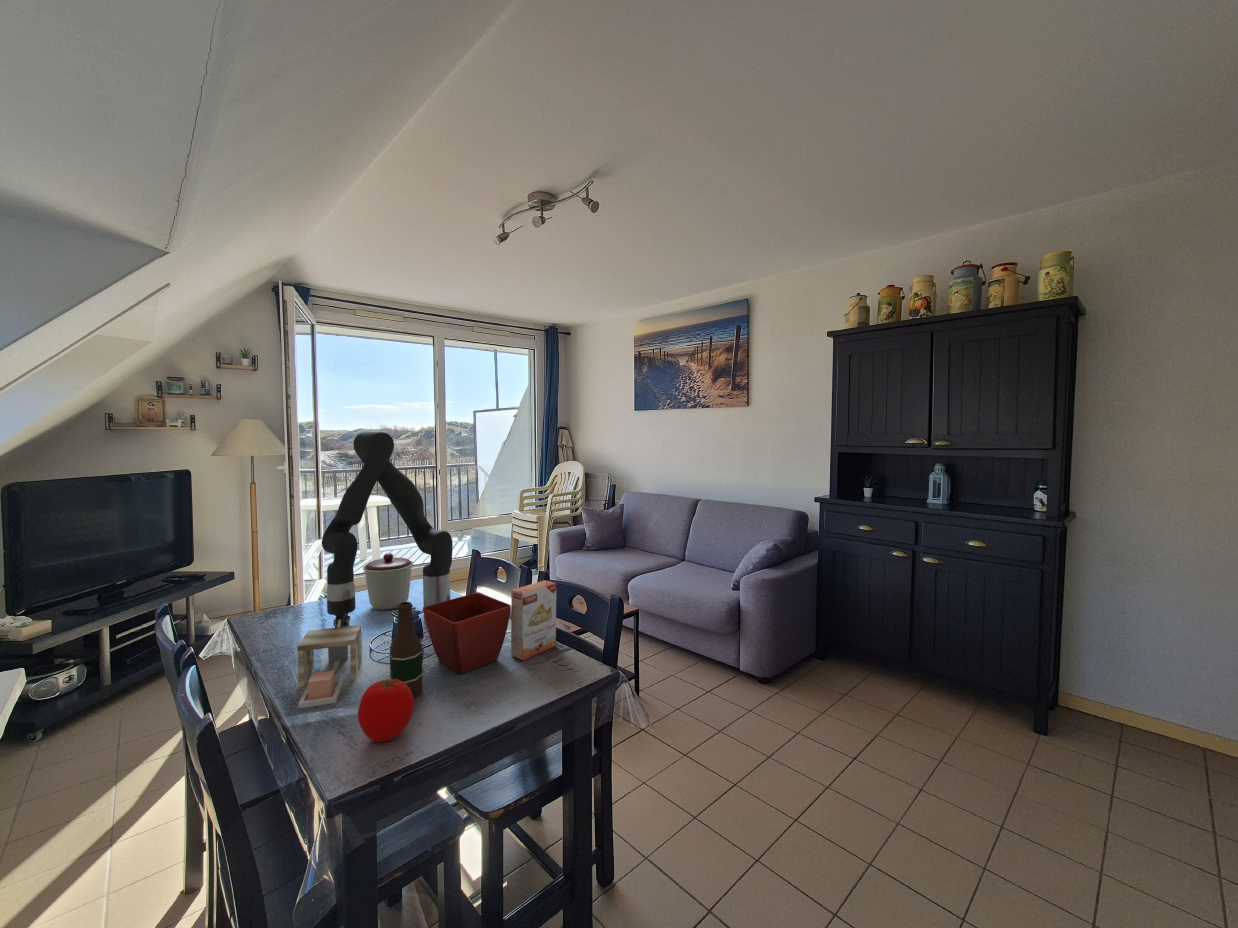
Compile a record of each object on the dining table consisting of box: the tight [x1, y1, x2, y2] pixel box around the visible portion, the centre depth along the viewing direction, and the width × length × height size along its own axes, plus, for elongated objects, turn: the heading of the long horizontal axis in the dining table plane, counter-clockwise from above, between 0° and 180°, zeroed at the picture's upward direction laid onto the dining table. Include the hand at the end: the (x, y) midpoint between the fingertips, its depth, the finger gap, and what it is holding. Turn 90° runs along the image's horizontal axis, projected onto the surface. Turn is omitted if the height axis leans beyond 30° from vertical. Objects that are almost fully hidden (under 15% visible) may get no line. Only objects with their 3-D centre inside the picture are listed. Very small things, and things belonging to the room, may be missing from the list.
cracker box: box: [510, 580, 557, 662], centre depth 155 cm, size 14×6×21 cm, turn 141°
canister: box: [362, 552, 414, 611], centre depth 196 cm, size 18×18×21 cm
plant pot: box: [422, 592, 511, 675], centre depth 148 cm, size 19×19×17 cm
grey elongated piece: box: [297, 645, 349, 709], centre depth 134 cm, size 27×8×8 cm, turn 20°
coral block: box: [307, 669, 336, 700], centre depth 126 cm, size 5×5×5 cm
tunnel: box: [296, 624, 363, 688], centre depth 137 cm, size 11×13×12 cm
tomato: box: [357, 678, 415, 743], centre depth 111 cm, size 11×11×13 cm
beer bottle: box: [389, 601, 423, 698], centre depth 130 cm, size 8×8×24 cm
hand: (342, 651), depth 151 cm, fingers closed
